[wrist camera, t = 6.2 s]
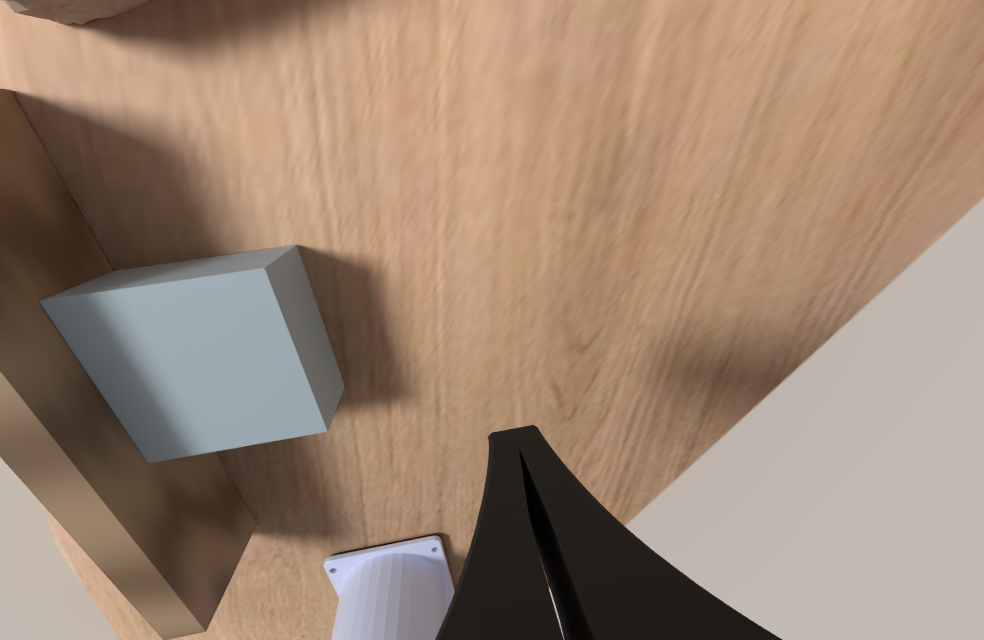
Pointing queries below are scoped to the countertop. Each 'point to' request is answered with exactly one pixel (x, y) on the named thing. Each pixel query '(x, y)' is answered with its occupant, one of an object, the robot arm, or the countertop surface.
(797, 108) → the countertop surface
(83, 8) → the brick
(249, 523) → the fence board
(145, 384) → the grey block
